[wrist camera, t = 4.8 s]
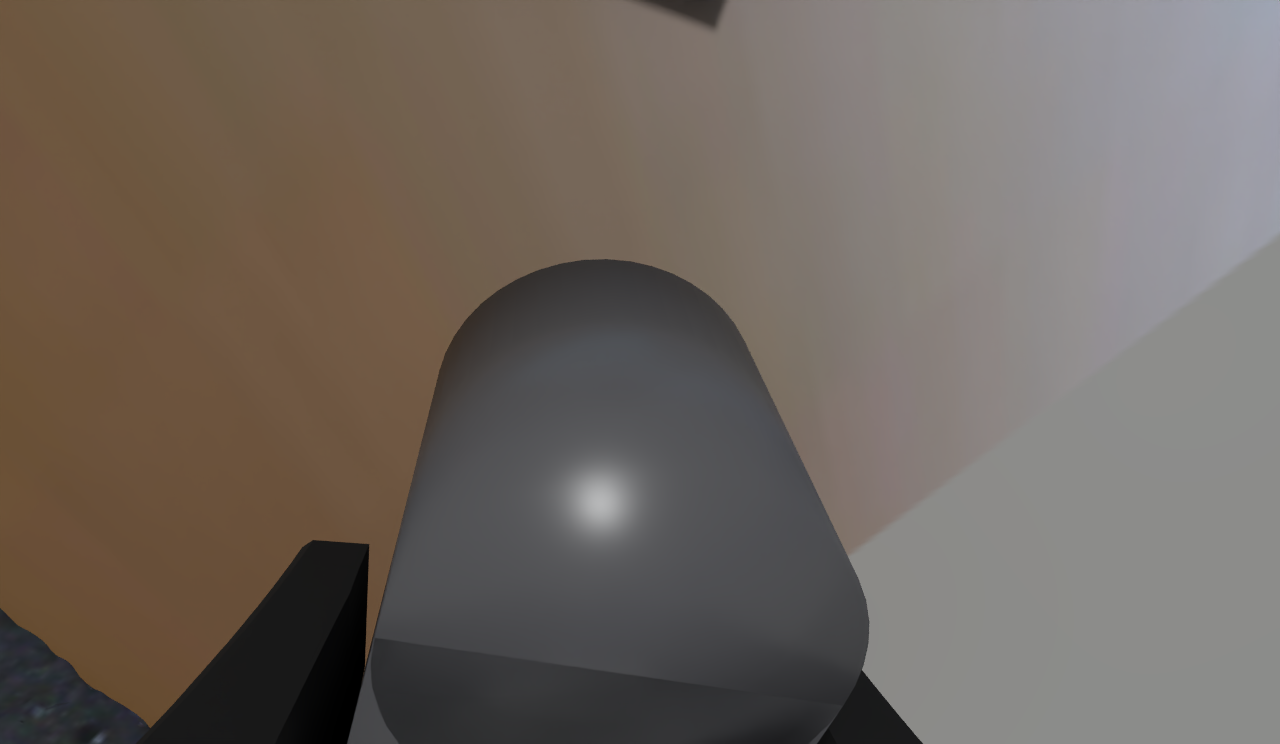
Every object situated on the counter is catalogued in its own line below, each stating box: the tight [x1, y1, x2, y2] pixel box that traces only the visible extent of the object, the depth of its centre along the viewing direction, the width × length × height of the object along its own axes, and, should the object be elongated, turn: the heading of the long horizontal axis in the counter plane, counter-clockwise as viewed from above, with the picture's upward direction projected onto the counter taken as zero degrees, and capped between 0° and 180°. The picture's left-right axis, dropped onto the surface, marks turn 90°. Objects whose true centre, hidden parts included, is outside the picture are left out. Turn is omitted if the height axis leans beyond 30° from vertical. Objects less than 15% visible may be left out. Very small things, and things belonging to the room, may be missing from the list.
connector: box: [347, 259, 869, 744], centre depth 9 cm, size 4×10×4 cm, turn 161°
